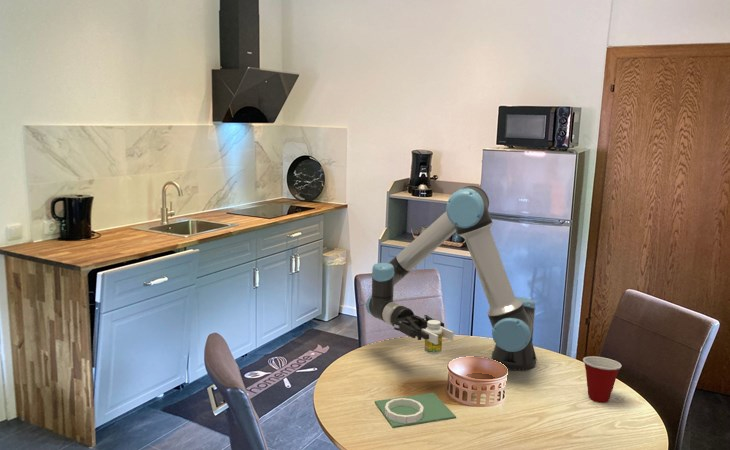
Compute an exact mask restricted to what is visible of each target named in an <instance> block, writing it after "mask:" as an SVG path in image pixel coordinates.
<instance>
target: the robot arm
mask: <svg viewBox="0 0 730 450" xmlns="http://www.w3.org/2000/svg"><path fill="white" fill-rule="evenodd" d="M445 206H446V207H445V212H443V214H441V215H440V216H439V217H438V218H437V219H436V220H435V221H433V222H432V223H431V224H430V225H429V226H428V227H426V228H425V229H424V230H423V231H422V232H421V233H420V234H419V235H418V236H417V237H415V239H414V240H412V241H411V242H410V243H409V244H408V245H407V246H406V247H404V248H403V249H402V250H401V251H400V252H399V253H398V254H397V255H395V256H394V257H393V258H392V259H391V260H390V261H389V262H378V263H377V262H376V263H375V264H373V265H372V270H371V295H370V296H369V297H368V298H367V300H366V302H365V309H366V312H367V313H368V314H370V316H372V317H374V318H375V319H378V320H380V321H383V322H384V323H386V324H389V325H391V326H392V327H393V329H394V330H395V331H398V332H401V333H403V334H404V335H406V336H408V337H410V338H411V339H416V338H417V341H421V340H422V339H423V340H424V341H425V340H427V341H429V342H431V343H433V344H435V345H437V344H438V335H436V334H434V333H432V332H430V331H427V330H425V329H426V328H427V327H428V326H427V322H428V321H429V320H436V319H435V318H432V317H430V316H429V314H424V315H423V317H420V316H419V315H415V314H414V311H413V310H412V309H411V308H409V307H406V306H404V305H402V304H400V303H398V302H395V301H394V289H395V288H394V286H395V285H396V284H397V283H399V281H401V280H402V279H404V278H405V277H406V276H407V275H408V274H409V273H410V272H411V271H413V270H414V269H415V267H417V266H418V265H419V264H420V263H422V261H424V260H425V259H426V258H427V257H429V256H430V255H431V254H432V253H433V252H435V250H436V249H437V248H439V247H440V246H441V245H442V244H443V243H445V242H446V241H447V240H449V239H450V238H451V237H452V235H454V234H455V233H456V234H457V235H458V236H459V237H461V238H463V239H464V242H465V244H466V246H467V249H468V251H469V254H470V257H471V260H472V262H473V266H474V267H475V271H476V273H477V276H478V279H479V281H480V284H481V287H482V290H483V292H484V294H485V297H486V300H487V303H488V306H489V309H488V311H487V312H486V314H487V316H488V319H489V322H490V325H491V327H492V330H491V334H492V339H493V342H494V343H495V345H494V347H493V350H492V352H491V360H492V359H493V360H496V361H498V362H501V363H502V364H504V365H505V366H506V367H507V368H508V369H507V370H510V371H529V370H532V369H534V368H535V367H537V354H536V351H535V347H534V344H533V341H534V339H533V337H534V326H535V312H536V311H535V310H536V302H535V301H534V300H533V299H530V298H527V297H521V296H520V297H519V296H515V294H514V290H513V288H512V286H511V282H510V279H509V277H508V275H507V272H506V269H505V266H504V264H503V261H502V258H501V255H500V254H499V250H498V247H497V245H496V241H495V239H494V236H493V233H492V231H491V228H492V226H493V223H494V222H493V220H492V218H491V214H490V212H489V206H490V199H489V196H488V193H486V191H485V190H484V189H483V188H481V187H479V186H476V185H468V186H464V187H462V188H461V189H458V190H456V191H454V192H453V193H452V194H451V196H450V197H449V198H448V200H447V202H446V205H445ZM440 328H441V329H442V338H444V339H447V340H449V341H451V342H453V341H454V333H455V332H454V331H452V330H450V329H448V328H445V323H444V322H442V321H440Z"/></svg>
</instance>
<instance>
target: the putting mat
mask: <svg viewBox="0 0 730 450" xmlns="http://www.w3.org/2000/svg"><path fill="white" fill-rule="evenodd" d="M398 398H406V399H413V400H415V401H418V402H420V403H421V405H422V406H423V407H424V409H423V417H422V419H421V420H419V421H417V422H414V423H408V424H407V423H406V424H405V423H397V422H394V421H392V420H390V419H388V418H387V416H386V415H385V406H386V403H387V402H389V401H391V400H392V399H398ZM374 404H375V405H376V407H377V408H378V409H379V411H380V412H381V414H382V416H383V417H385V419H386V421H387V422H388V423H389V425H390V426H391V427H392V429H394V428H401V427H407V426H413V425H414V426H415V425H420V424H427V423H433V422H434V423H435V422H439V421H446V420H451V419H452V420H453V419H456V418H457V416H456V415H455V414H454V412H452V410H451V409H450V408H449V407H448V406H447V405H446V404H445V403H444V402H443V400H441V399H440V398H439V397H438V396H437V394H435V392H429V393H422V394H416V395H415V394H414V395H406V396H402V397H400V396H399V397H394V398H385V399H381V400H374ZM390 411H391V412H393V413H396V414H399V415H412V414H416V413H417V412H419V411H418V410H417V409H415V408H412V407H409V406H397V407H393V408H391V409H390Z"/></svg>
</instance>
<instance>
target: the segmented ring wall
mask: <svg viewBox="0 0 730 450" xmlns="http://www.w3.org/2000/svg"><path fill="white" fill-rule="evenodd" d="M397 398H398V399H392V398H391V399H392V400H391V401H389V402H387V403H386V406H385V415H386V416H387V418H388V419H390V420H392V421H394V422H397V423H405V424H406V423H407V424H408V423H414V422H417V421H419V420H421V419H422V417H423V409H424V407H423V406H422V405H421V403H420V402H418V401H415V400H413V399H406V398H399V397H397ZM397 406H409V407H412V408H415V409H417V410H418V411H419V412H417V413H416V414H412V415H399V414H396V413H393V412H391V411H390V409H391V408H393V407H397Z"/></svg>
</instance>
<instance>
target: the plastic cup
mask: <svg viewBox="0 0 730 450" xmlns="http://www.w3.org/2000/svg"><path fill="white" fill-rule="evenodd" d="M582 361H583V363H584V368H585V369H584V370H585V375H586V386H587V394H588V395H587V396H588V397H589V400H591V401H593V402H596V403H601V404H604V403H608V402H609V400H610V398H611V395H612V392H613V390H614V386H615V382H616V379H617V376H618V374H619V371H620V369H621V368H622V366H623V365H622V364H621V363H620V362H619V361H617V360H613V359H611V358H607V357H602V356H593V355H592V356H585V357H583V358H582Z"/></svg>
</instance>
